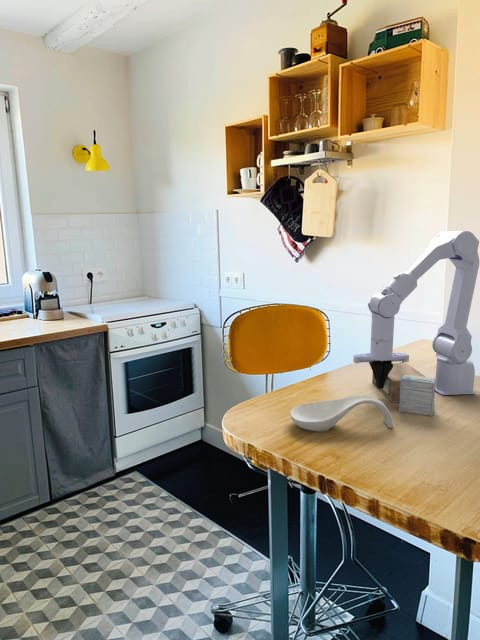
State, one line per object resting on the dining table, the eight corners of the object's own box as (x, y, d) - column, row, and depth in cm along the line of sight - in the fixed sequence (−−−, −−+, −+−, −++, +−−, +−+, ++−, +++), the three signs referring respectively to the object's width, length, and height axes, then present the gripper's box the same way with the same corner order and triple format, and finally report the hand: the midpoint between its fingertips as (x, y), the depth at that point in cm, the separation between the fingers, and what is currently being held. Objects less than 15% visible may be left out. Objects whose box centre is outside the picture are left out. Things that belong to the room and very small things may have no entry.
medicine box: (433, 410, 124) (436, 377, 122) (432, 417, 120) (434, 382, 119) (401, 406, 127) (402, 373, 126) (398, 412, 123) (400, 378, 122)
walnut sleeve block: (405, 381, 146) (406, 363, 145) (428, 400, 131) (430, 379, 130) (372, 382, 146) (373, 363, 145) (391, 402, 130) (392, 381, 129)
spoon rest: (293, 438, 110) (293, 407, 109) (286, 417, 121) (287, 389, 120) (398, 435, 110) (400, 405, 109) (382, 415, 122) (383, 388, 121)
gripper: (402, 334, 136) (400, 382, 138) (350, 336, 135) (349, 383, 137) (413, 340, 129) (410, 390, 131) (358, 342, 128) (356, 392, 131)
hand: (379, 387), depth 134 cm, fingers closed
